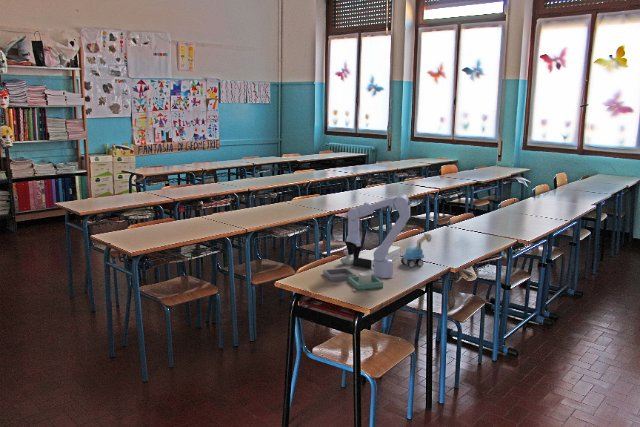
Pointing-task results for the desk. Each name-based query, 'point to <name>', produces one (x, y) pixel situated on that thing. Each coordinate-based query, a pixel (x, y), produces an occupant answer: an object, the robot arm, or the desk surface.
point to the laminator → (368, 259)
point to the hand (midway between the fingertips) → (353, 256)
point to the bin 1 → (338, 274)
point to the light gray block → (364, 278)
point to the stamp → (347, 258)
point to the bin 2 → (366, 286)
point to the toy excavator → (415, 253)
